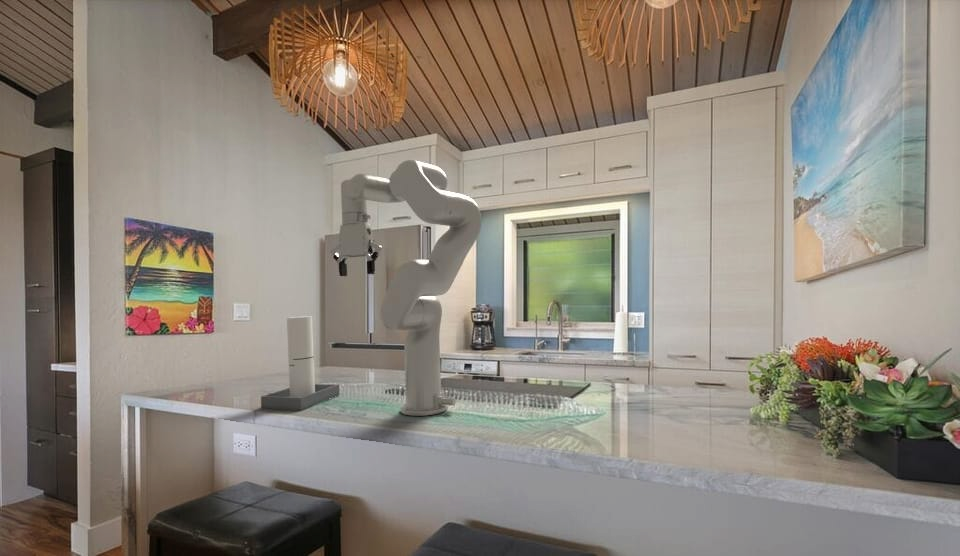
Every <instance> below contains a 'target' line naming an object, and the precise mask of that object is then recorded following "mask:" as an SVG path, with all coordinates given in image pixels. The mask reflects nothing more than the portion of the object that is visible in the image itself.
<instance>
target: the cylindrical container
mask: <svg viewBox="0 0 960 556" xmlns="http://www.w3.org/2000/svg"><path fill="white" fill-rule="evenodd" d="M286 328H287V329H286V330H287V351H288V352H287V354H288V355H287V356H288V358H287V359H288V379H289V388H290V397H303V396H306V395H309V394H312V393H314V392H315V384H316V383H315V382H316V380H315V361H314V358H315V357H314V356H315V355H314V333H313V332H314V331H313V316H312V315H302V316H290V317H287V318H286Z"/></svg>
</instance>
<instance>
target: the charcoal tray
mask: <svg viewBox="0 0 960 556" xmlns="http://www.w3.org/2000/svg"><path fill="white" fill-rule="evenodd" d="M338 395H340V384H331V383H325V384H324V383H315V392H314V393H312V394H309V395H306V396H303V397H290V387H287V388H284V389H281V390H278V391H273V392H271V393H268V394H264V395H262V396H261V395H260V408H269V409H268V410H279V409H284V410H283V411H301V412H302V411H304V410H306V409H307V410H308V409H309V408H312V407H314V405H315V406H317V405H319V404H318V403H320V402H322V401H324V400H327V399H329V398H332V397H335V396H337V397H339V396H338ZM335 398H336V397H335ZM332 399H333V398H332ZM327 401H328V400H327ZM322 403H323V402H322ZM316 404H317V405H316ZM320 404H321V403H320Z"/></svg>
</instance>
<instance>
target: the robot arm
mask: <svg viewBox="0 0 960 556" xmlns="http://www.w3.org/2000/svg"><path fill="white" fill-rule="evenodd" d="M447 187H448V177H447V174H446V173H445V172H444V171H443V169H441V168H440V167H439V166H437V165H434V164H433V165H432V164H430V163H425V162H422V161H418V160H415V159H407V160H404V161H402V162H400V163H399V164H398V166H397V167H396V169H395V170H394V171H393V172H391V174H390V177H389V178H385V177H381V176H376V175H370V174H366V173H357V174H355V175H354V176H353V177H351V178H349V179H345V180H343V181H341V184H340V198H341V224H340V228H339V232H338V233H339V235H338V244H337V245H336V246H335V247H333V248H332V249H330V254H331V255H332V256H333V259H334V260H335V261H336V263H337V264H338V273H339V276H340V277H347V276H348V266H347V263H346V261H347V260H348V259H349V258H360V257H365V258H366V259H367V261H366V271H367V274H368V275H375V271H376V265H375V264H376V261H377V259H378V257H379V256H380V253H381V251H382V248H383V247H382V245H380V244H378V243H376V242H374V237H373V231H372V228H371V224H370V223H368V220H371V215H370V214H368V212H367V209H368V208H367V201H370V202H371V201H372V202H378V203H383V204H385V203H386V204H391V203H392V204H393V203H402V202H406V203H407V205H408V207H410V209H411V211H413V213H414V214H415V215H416V216H417V218H419V220H421V221H422V222H424V223H427V224H431V225H439V226H446V227H447V226H448V227H449V229H448V230H447V231H445V232H444V233H443V234H442V235H441V236H440V237H439V238H438V240H436V242H435V244H434V246H433V249H432V251H431V252H430V254H429V256H428V257H427V258H425V259H422V258H420V259H419V258H418V259H417V258H415V259H413V258H412V259H409V260H406V261H404V262H403V263H401V264H400V265H399V266H398V268H397V270H396V271H395V273H394V276H393V277H392V280H391V282H390V284H389V286H388V288H387V291H386V293H385V295H384V296H383V299H382V302H381V305H380V308H379V318H380V322H381V324H382V326H383V328H385V329H386V330H387V331H391V332H404V331H408V332H407V334H406V337H405V341H404V347H403V348H404V353H403V354H404V377H405V378H404V379H405V380H404V381H405V382H404V383H405V403H404V404H403V405H401V407H400V413H401V414H403V415H406V416H413V417H414V416H415V417H416V416H417V417H423V416H432V415H437V414H440V413H441V414H442V413H444V412H446V411H447V410H448V406H455V405H456V397H454V396H446V395H445V394H446V393H445V391H444V390H442V384H441V383H442V380H441V379H442V378H441V357H440V356H441V353H440V352H441V351H440V350H441V349H440V347H441V346H440V334H441V333H440V331H441V330H440V329H441V324H442V316H443V308H442V304H441V302H440V300H439V299H438V298H437V296H442V295H445V294H446V293H448V291H449V290H450V288H452V285H453V283H454V281H455V279H456V277H457V275H458V273H459V272H460V270H461V268H462V266H463V264H464V261H465V259H466V257H467V256H468V254H469V252H470V250H471V249H472V247H473V246H474V244H475V243H476V241H477V239H478V237H479V235H480V231H481V229H482V213H481V210H480V207H479V206H478V204H477V202H476V201H475V200H474V199H473V198H470V197H469V196H468V195H467V196H466V195H464V194H462V193H456V192H452V191H446V189H447Z"/></svg>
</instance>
